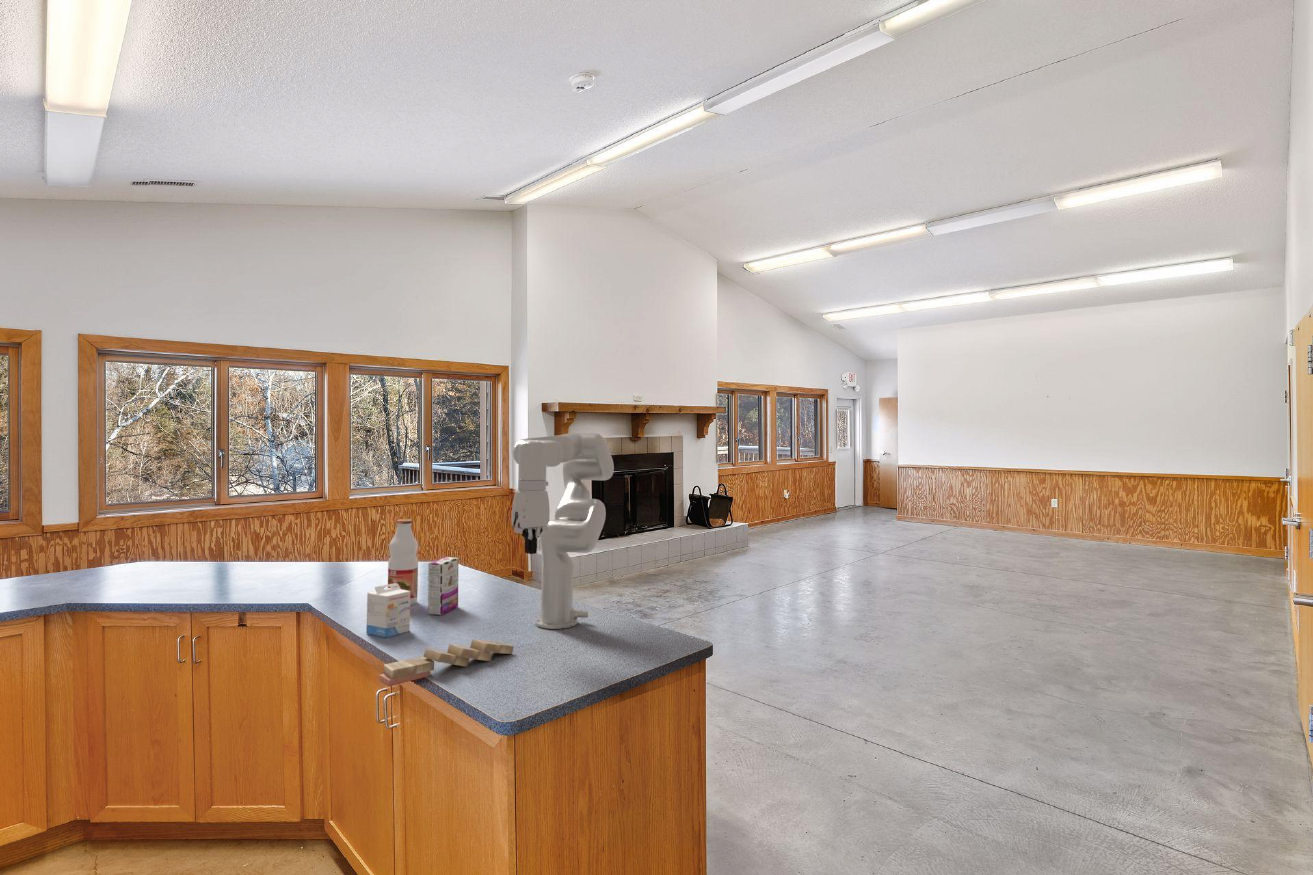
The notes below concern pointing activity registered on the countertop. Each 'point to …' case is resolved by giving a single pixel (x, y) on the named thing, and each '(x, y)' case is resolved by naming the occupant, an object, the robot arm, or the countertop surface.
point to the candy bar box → (442, 586)
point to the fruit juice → (404, 559)
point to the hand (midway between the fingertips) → (530, 553)
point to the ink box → (388, 611)
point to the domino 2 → (401, 678)
